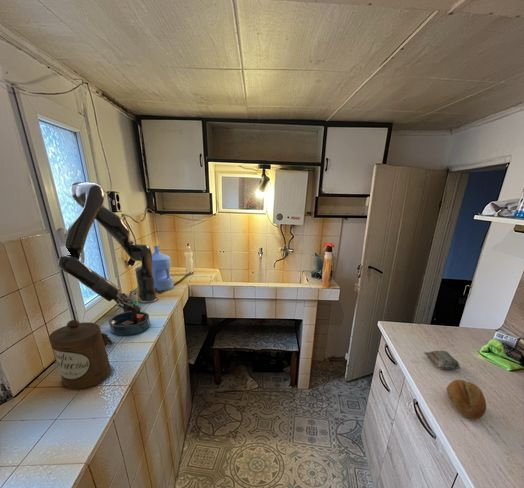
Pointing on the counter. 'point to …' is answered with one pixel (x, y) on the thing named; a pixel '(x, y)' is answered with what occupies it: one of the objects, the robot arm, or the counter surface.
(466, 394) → the bread roll
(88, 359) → the wooden container
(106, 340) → the pottery mug
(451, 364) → the packaged food
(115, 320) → the bowl
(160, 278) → the water jug
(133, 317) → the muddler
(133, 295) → the food container
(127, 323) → the block
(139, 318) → the block
